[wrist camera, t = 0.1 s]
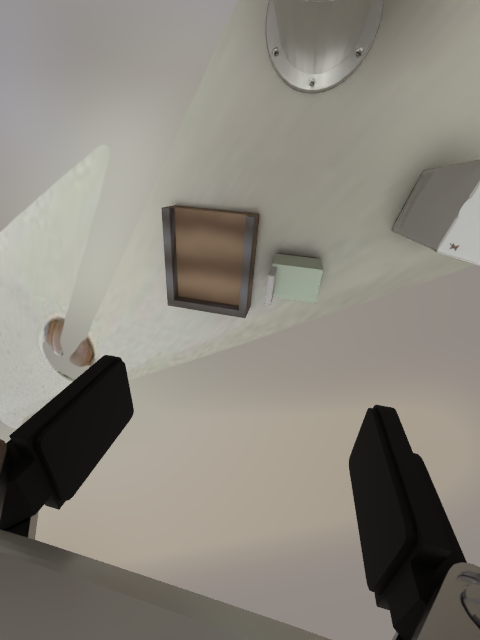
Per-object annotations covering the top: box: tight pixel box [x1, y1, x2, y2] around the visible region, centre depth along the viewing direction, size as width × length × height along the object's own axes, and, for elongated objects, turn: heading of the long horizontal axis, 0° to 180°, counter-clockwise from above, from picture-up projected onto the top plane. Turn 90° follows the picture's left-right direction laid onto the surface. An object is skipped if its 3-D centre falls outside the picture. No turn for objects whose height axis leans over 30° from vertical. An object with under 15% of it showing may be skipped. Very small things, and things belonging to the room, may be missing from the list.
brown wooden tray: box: [162, 205, 259, 318], centre depth 44 cm, size 16×14×5 cm
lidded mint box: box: [265, 254, 323, 305], centre depth 39 cm, size 5×7×11 cm
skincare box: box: [392, 160, 480, 266], centre depth 30 cm, size 8×7×16 cm
